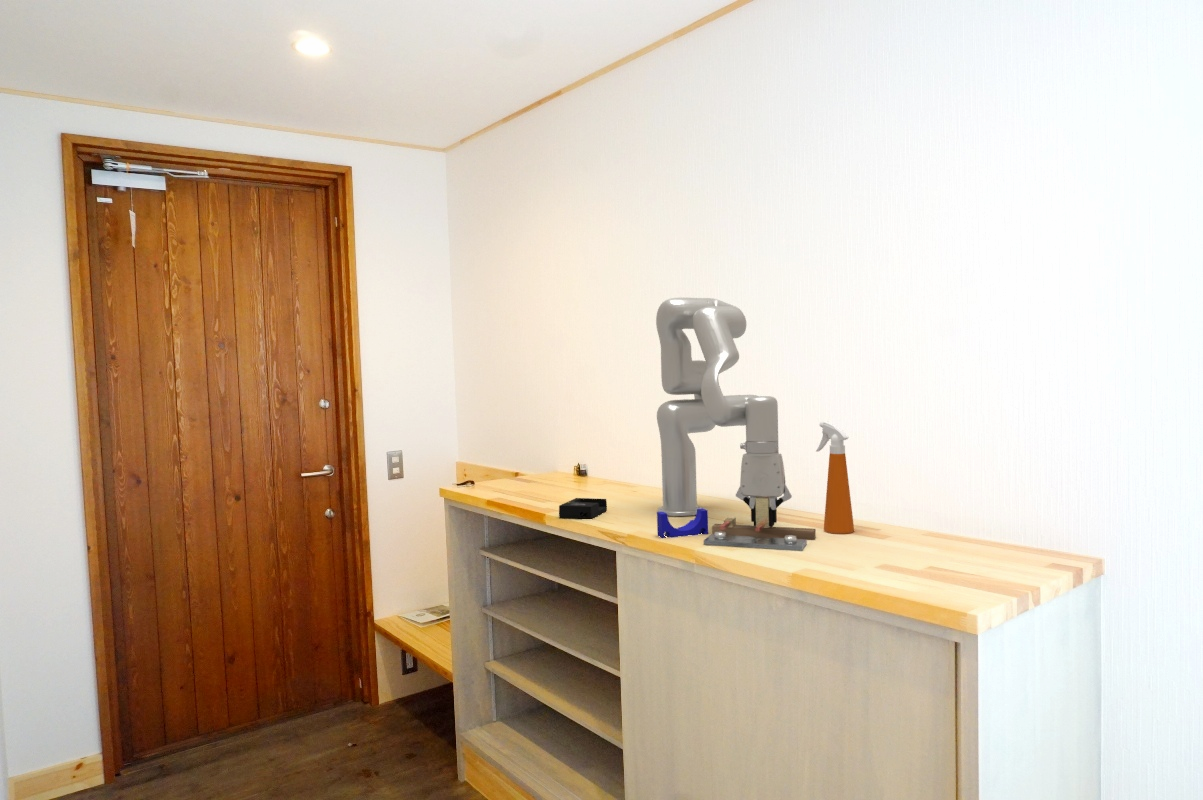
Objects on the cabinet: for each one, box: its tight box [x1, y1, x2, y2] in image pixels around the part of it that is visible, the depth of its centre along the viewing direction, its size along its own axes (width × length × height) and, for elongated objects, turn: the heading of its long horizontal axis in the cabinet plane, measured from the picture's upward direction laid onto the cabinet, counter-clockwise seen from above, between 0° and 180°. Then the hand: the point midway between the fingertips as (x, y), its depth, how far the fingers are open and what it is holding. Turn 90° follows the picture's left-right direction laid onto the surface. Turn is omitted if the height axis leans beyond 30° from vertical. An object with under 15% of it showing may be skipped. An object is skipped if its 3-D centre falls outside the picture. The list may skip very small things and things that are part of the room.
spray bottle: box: [815, 421, 855, 535], centre depth 190 cm, size 7×11×26 cm, turn 25°
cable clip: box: [656, 507, 709, 539], centre depth 191 cm, size 12×4×6 cm, turn 106°
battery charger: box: [558, 497, 608, 520], centre depth 220 cm, size 13×10×4 cm
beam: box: [711, 516, 817, 541], centre depth 184 cm, size 10×24×4 cm, turn 67°
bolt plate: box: [703, 532, 808, 552], centre depth 178 cm, size 7×22×2 cm, turn 67°
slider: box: [755, 497, 771, 531], centre depth 183 cm, size 10×3×7 cm, turn 157°
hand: (764, 524), depth 186 cm, fingers closed on slider, 3 cm apart
